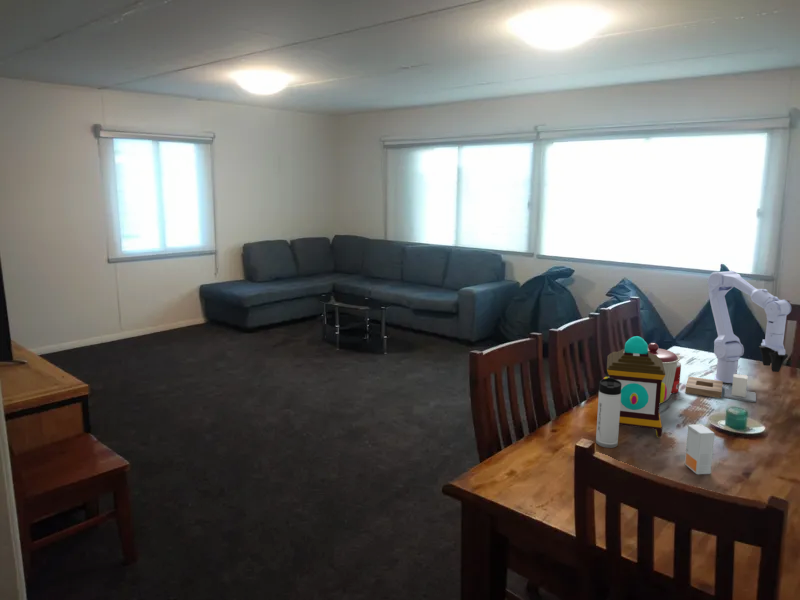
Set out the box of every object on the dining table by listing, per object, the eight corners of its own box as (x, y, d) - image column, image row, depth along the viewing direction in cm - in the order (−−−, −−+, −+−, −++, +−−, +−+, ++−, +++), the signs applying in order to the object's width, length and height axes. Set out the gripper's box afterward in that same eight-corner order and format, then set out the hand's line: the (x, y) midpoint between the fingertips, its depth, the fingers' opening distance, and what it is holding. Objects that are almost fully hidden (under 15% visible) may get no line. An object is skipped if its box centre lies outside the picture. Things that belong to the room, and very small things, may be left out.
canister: (669, 411, 201) (674, 352, 198) (616, 400, 212) (620, 344, 208) (681, 396, 216) (686, 341, 212) (631, 387, 226) (634, 334, 222)
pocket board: (688, 382, 231) (688, 376, 231) (722, 387, 225) (722, 381, 225) (685, 392, 219) (685, 386, 219) (721, 398, 214) (721, 391, 213)
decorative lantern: (597, 432, 185) (603, 341, 179) (599, 410, 203) (604, 327, 197) (666, 440, 178) (674, 346, 172) (661, 417, 196) (668, 331, 190)
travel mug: (617, 440, 178) (621, 378, 174) (617, 449, 172) (622, 385, 168) (595, 437, 180) (599, 376, 176) (595, 446, 174) (599, 383, 170)
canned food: (674, 387, 226) (676, 359, 224) (682, 394, 218) (684, 366, 216) (654, 386, 227) (656, 359, 225) (661, 393, 219) (663, 365, 217)
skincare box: (683, 464, 162) (687, 424, 160) (698, 463, 163) (702, 423, 160) (696, 475, 156) (700, 433, 154) (711, 474, 157) (715, 432, 154)
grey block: (731, 391, 219) (733, 373, 218) (745, 393, 217) (747, 375, 215) (731, 394, 215) (733, 376, 214) (745, 397, 213) (747, 378, 212)
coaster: (725, 389, 222) (725, 388, 222) (755, 394, 217) (755, 392, 217) (724, 397, 214) (724, 396, 214) (755, 402, 209) (756, 400, 209)
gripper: (755, 327, 220) (751, 362, 222) (771, 337, 206) (767, 373, 208) (775, 328, 218) (771, 363, 221) (793, 338, 204) (789, 374, 207)
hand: (770, 368), depth 214 cm, fingers open, 7 cm apart
